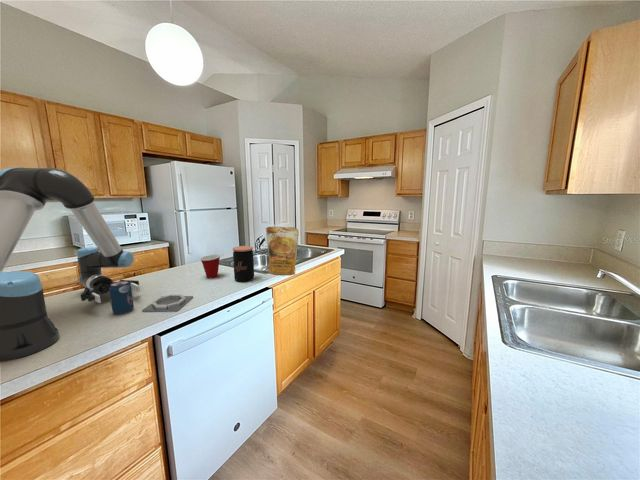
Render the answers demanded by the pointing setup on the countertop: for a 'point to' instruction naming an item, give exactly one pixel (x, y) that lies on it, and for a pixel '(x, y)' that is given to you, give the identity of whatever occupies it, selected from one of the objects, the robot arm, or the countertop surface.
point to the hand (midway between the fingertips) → (120, 293)
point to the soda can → (121, 297)
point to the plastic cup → (211, 265)
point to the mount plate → (168, 303)
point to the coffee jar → (243, 263)
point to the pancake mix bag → (282, 249)
